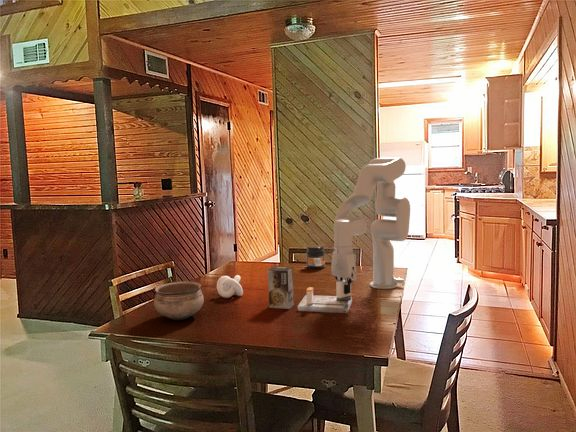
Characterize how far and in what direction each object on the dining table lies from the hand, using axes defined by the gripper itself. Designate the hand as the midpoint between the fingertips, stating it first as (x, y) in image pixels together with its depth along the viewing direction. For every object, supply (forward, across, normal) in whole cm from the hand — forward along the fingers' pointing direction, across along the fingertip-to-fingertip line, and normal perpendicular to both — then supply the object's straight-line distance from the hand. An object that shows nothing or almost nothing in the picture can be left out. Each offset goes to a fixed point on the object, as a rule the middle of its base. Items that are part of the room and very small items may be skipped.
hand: (344, 292), depth 200 cm
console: (+4, -3, -9) cm, 10 cm away
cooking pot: (+4, -34, -58) cm, 68 cm away
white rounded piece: (+5, -44, -27) cm, 52 cm away
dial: (+2, 0, 0) cm, 2 cm away
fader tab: (+2, -5, -15) cm, 16 cm away
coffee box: (+5, -16, -21) cm, 27 cm away
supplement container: (+5, -58, +40) cm, 70 cm away
